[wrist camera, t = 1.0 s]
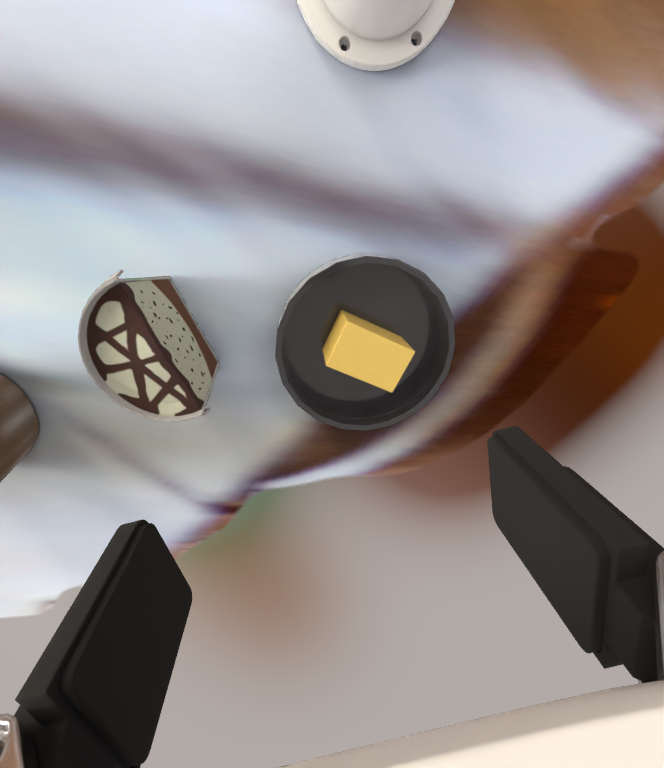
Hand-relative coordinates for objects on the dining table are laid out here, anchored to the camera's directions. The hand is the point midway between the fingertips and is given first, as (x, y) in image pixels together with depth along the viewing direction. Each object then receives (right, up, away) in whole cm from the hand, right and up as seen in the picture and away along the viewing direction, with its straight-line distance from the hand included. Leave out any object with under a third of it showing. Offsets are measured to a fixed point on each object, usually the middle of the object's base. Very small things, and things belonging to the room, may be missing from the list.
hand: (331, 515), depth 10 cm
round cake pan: (+3, +8, +28) cm, 29 cm away
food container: (-16, +9, +26) cm, 32 cm away
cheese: (+3, +8, +28) cm, 29 cm away
